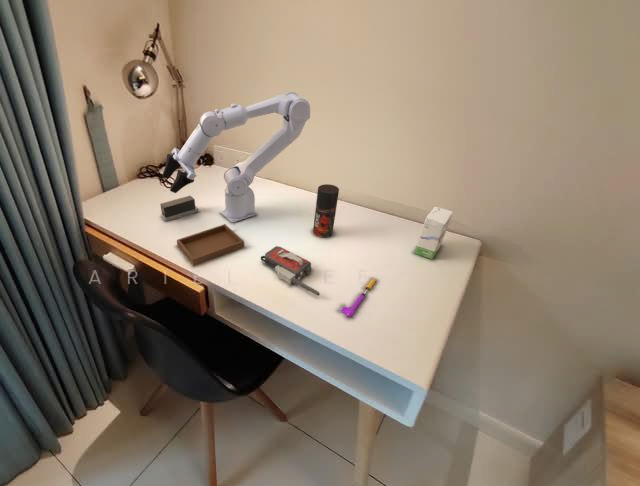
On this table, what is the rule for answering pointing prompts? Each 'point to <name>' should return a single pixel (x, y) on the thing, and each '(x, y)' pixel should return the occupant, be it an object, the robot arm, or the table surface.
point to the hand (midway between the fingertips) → (168, 184)
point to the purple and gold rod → (357, 301)
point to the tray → (210, 244)
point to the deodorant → (325, 210)
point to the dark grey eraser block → (178, 208)
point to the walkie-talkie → (288, 266)
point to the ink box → (433, 232)
